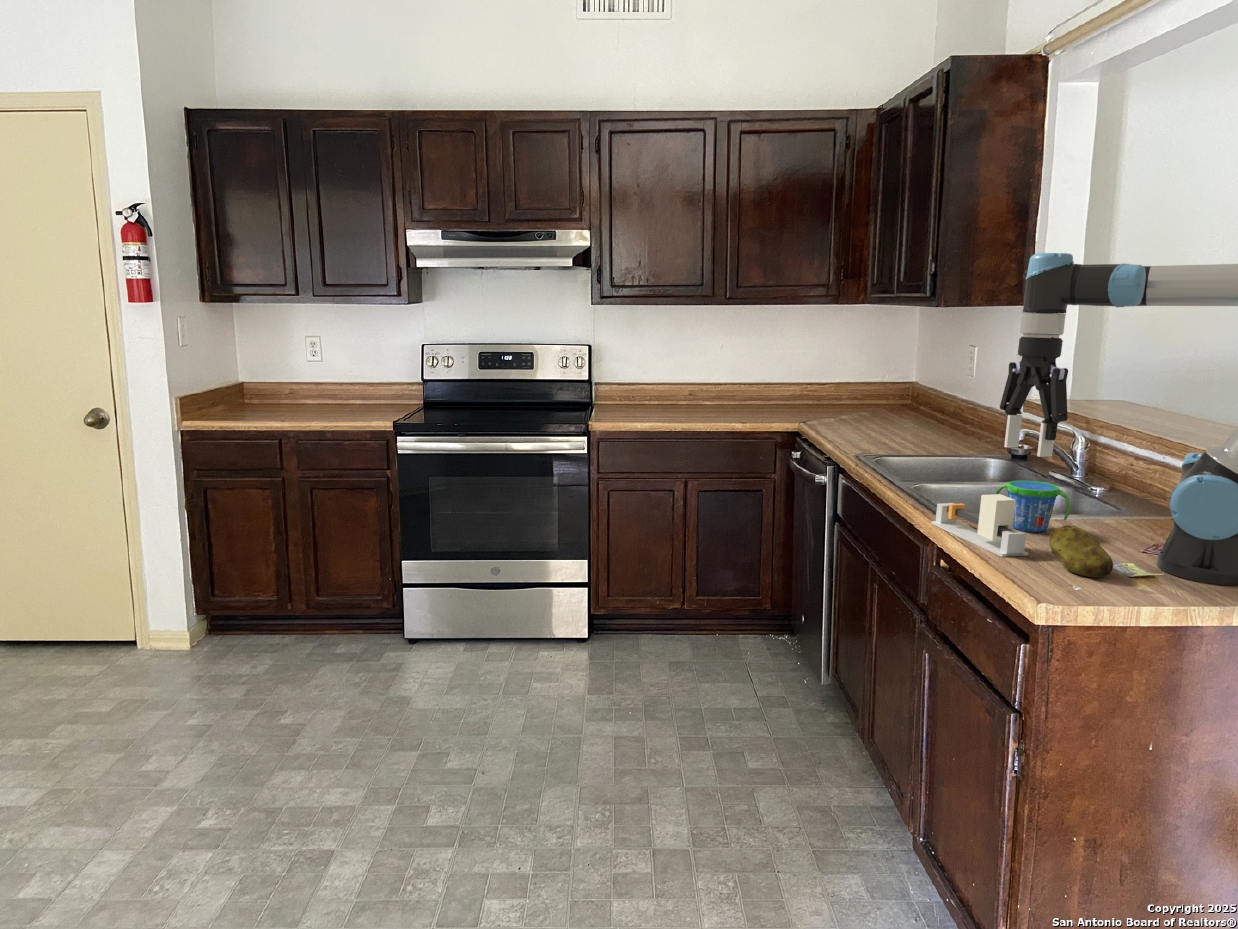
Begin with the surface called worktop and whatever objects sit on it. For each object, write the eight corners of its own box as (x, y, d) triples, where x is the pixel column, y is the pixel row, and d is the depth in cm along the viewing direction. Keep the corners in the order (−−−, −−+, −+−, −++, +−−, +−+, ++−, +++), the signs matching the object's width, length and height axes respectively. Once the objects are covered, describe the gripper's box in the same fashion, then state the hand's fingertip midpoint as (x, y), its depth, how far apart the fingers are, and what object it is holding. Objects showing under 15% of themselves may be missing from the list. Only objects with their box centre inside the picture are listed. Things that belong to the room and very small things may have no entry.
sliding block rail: (1027, 555, 174) (1031, 528, 173) (1001, 556, 172) (1005, 530, 171) (954, 522, 198) (957, 499, 196) (931, 523, 196) (933, 499, 195)
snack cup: (984, 526, 195) (989, 482, 193) (1001, 518, 203) (1006, 476, 201) (1057, 540, 185) (1063, 494, 183) (1072, 531, 192) (1078, 487, 190)
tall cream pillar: (1011, 539, 177) (1015, 499, 176) (992, 540, 176) (996, 500, 175) (995, 533, 182) (1000, 494, 180) (977, 534, 181) (981, 494, 179)
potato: (1070, 581, 159) (1076, 539, 157) (1040, 559, 171) (1045, 521, 170) (1116, 582, 158) (1122, 541, 157) (1082, 561, 171) (1087, 522, 169)
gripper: (1100, 339, 155) (1084, 462, 159) (1020, 333, 175) (1008, 441, 180) (1064, 339, 153) (1049, 463, 158) (988, 332, 174) (976, 442, 178)
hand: (1027, 451), depth 169 cm, fingers open, 9 cm apart
